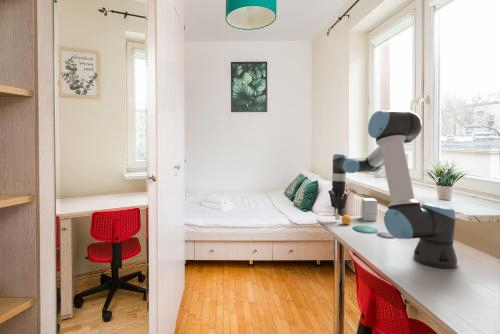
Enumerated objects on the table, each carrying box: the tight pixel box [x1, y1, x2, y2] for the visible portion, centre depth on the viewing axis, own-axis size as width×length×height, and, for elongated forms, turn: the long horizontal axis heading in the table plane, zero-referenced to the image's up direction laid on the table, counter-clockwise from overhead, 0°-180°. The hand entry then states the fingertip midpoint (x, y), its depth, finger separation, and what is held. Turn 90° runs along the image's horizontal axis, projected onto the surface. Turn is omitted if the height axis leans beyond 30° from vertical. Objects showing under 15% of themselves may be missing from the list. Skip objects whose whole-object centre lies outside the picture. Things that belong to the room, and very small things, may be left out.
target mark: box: [352, 225, 379, 234], centre depth 161 cm, size 13×13×1 cm
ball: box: [340, 214, 352, 225], centre depth 170 cm, size 6×6×6 cm
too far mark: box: [376, 231, 396, 239], centre depth 151 cm, size 9×9×1 cm
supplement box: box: [360, 197, 378, 222], centre depth 180 cm, size 7×7×13 cm
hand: (337, 219), depth 175 cm, fingers closed
